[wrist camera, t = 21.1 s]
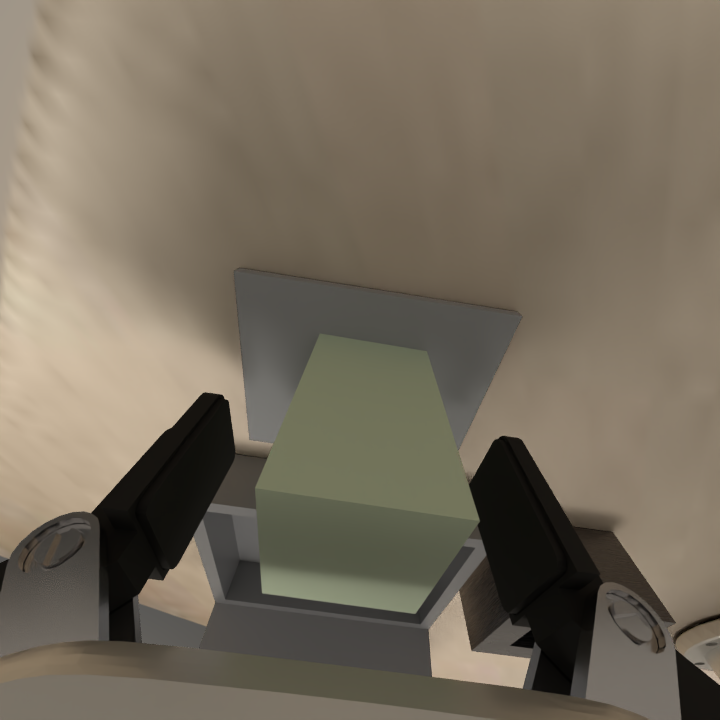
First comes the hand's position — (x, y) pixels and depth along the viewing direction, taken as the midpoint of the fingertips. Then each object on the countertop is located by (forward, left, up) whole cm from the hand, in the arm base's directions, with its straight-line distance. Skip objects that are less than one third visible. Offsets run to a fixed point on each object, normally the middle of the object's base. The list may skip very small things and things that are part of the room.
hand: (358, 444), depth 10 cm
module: (0, 0, -3) cm, 3 cm away
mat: (0, 0, -4) cm, 4 cm away
